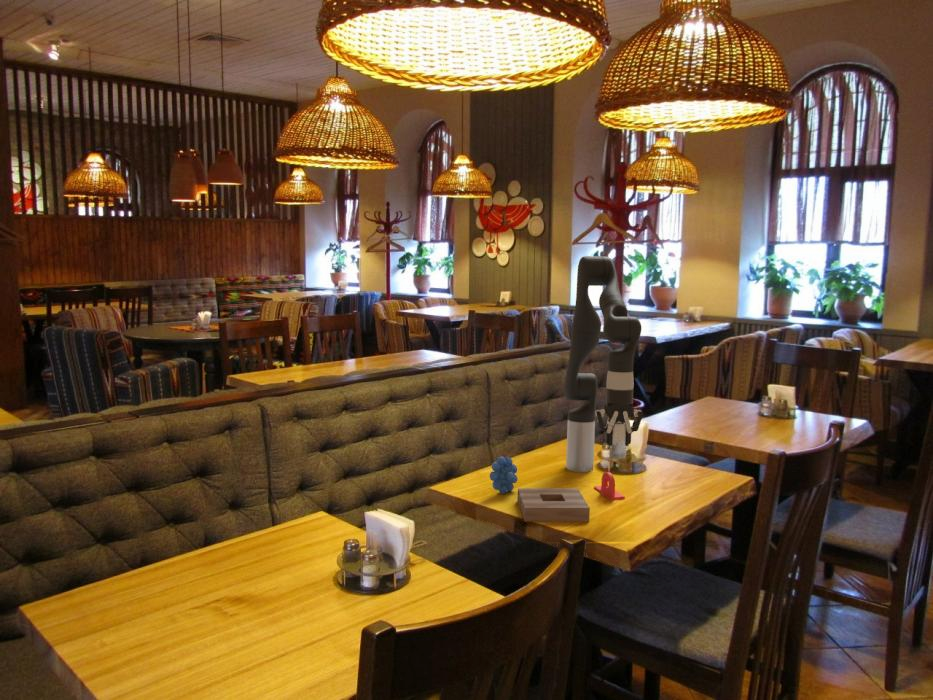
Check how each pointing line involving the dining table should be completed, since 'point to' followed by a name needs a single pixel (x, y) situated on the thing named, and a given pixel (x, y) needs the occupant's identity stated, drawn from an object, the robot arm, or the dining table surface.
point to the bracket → (609, 487)
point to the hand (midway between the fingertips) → (617, 445)
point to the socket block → (552, 505)
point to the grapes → (503, 475)
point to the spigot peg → (618, 440)
